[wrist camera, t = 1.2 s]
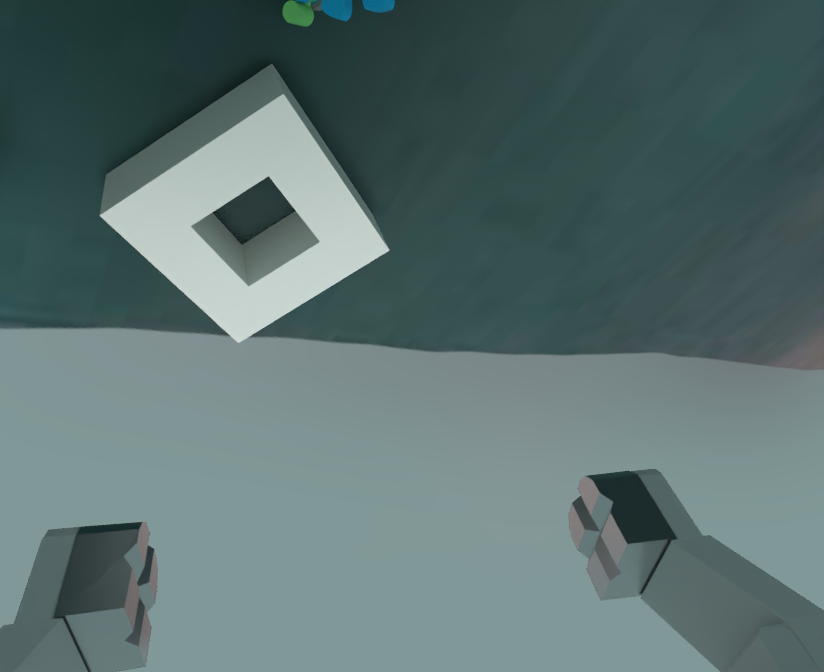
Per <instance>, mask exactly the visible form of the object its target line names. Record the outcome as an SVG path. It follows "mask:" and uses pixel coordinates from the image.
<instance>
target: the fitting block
mask: <svg viewBox="0 0 824 672" xmlns="http://www.w3.org/2000/svg"><path fill="white" fill-rule="evenodd" d="M268 176H269V177H270V178H271V180H272V181H273V182H274V184H275V185H276V186H277V187H278V189H279V190H280V191H281V192H282V194H283V195H284V196H285V198H286V199H287V200H288V201H289V203H290V204H291V205H292V207H293V208H294V209H295V210H296V211H295V212H293V213H291V214H290V215H288V216H287V217H285V218H284V219H282V220H280V221H279V222H277V223H276V224H274V225H273V226H271V227H269V228H268V229H266V230H265V231H263V232H261V233H260V234H258V235H257V236H255V237H254V238H252V239H250V240H249V241H247V242H246V243H244V244H243V245H242V244H241V243H240V242H239V241H238V240H237V239H236V238H235V237H234V236H233V235H232V234H231V232H230V231H229V230H228V229H227V228H226V227H225V226H224V225H223V224H222V223H221V221H220V220H219V219H218V218H217V217H216V216H215V215H214V214H213V213H212V212H214V211H215V210H217V209H218V208H220V207H221V206H223V205H224V204H226V203H228V202H229V201H231V200H232V199H234V198H235V197H237V196H238V195H240V194H241V193H243V192H245V191H246V190H248V189H249V188H251V187H252V186H254V185H255V184H257V183H258V182H260V181H262V180H263V179H265V178H266V177H268ZM100 216H101V217H102V218H103V219H104V220H105V221H106V222H107V223H108V224H109V225H110V226H111V227H112V228H114V229H115V230H116V231H117V232H118V233H119V234H120V235H121V236H122V237H123V238H124V239H126V240H127V241H128V242H129V243H130V244H131V245H132V246H133V247H134V248H135V249H136V250H138V251H139V252H140V253H141V254H142V255H143V256H144V257H145V258H146V259H147V260H148V261H150V262H151V263H152V264H153V265H154V266H155V267H156V268H157V269H158V270H159V271H160V272H162V273H163V274H164V275H165V276H166V277H167V278H168V279H169V280H170V281H171V282H172V283H174V284H175V285H176V286H177V287H178V288H179V289H180V290H181V291H182V292H183V293H184V294H186V295H187V296H188V297H189V298H190V299H191V300H192V301H193V302H194V303H195V304H196V305H197V306H199V307H200V308H201V309H202V310H203V311H204V312H205V313H206V314H207V315H208V316H209V317H211V318H212V319H213V320H214V321H215V322H216V323H217V324H218V325H219V326H220V327H221V328H223V329H224V330H225V331H226V332H227V333H228V334H229V335H230V336H231V337H232V338H233V339H235V340H236V341H237V342H238V343H239V342H241V341H243V340H244V339H246V338H247V337H249V336H251V335H252V334H254V333H256V332H257V331H259V330H260V329H262V328H264V327H265V326H267V325H269V324H270V323H272V322H273V321H275V320H277V319H278V318H280V317H282V316H283V315H285V314H286V313H288V312H290V311H291V310H293V309H295V308H296V307H298V306H299V305H301V304H303V303H304V302H306V301H308V300H309V299H311V298H313V297H314V296H316V295H317V294H319V293H321V292H322V291H324V290H326V289H327V288H329V287H330V286H332V285H334V284H335V283H337V282H339V281H340V280H342V279H343V278H345V277H347V276H348V275H350V274H352V273H353V272H355V271H356V270H358V269H360V268H361V267H363V266H365V265H366V264H368V263H369V262H371V261H373V260H374V259H376V258H378V257H379V256H381V255H382V254H384V253H386V252H387V251H389V248H388V246H387V244H386V242H385V240H384V238H383V236H382V234H381V231H380V229H379V227H378V225H377V223H376V221H375V219H374V217H373V215H372V213H371V211H370V210H369V208H368V207H367V205H366V204H365V202H364V201H363V199H362V198H361V196H360V195H359V193H358V192H357V190H356V189H355V187H354V186H353V184H352V183H351V181H350V180H349V178H348V177H347V175H346V174H345V172H344V171H343V169H342V168H341V166H340V165H339V163H338V162H337V160H336V159H335V157H334V156H333V154H332V153H331V151H330V150H329V148H328V147H327V145H326V144H325V142H324V141H323V139H322V138H321V136H320V135H319V133H318V132H317V130H316V129H315V127H314V126H313V124H312V123H311V121H310V120H309V118H308V117H307V115H306V114H305V112H304V111H303V109H302V108H301V106H300V105H299V103H298V102H297V100H296V99H295V97H294V96H293V94H292V93H291V91H290V90H289V88H288V87H287V85H286V84H285V82H284V81H283V79H282V78H281V76H280V75H279V73H278V72H277V70H276V69H275V67H274V66H273V64H270V65H269V66H267V67H266V68H264V69H263V70H261V71H260V72H258V73H257V74H255V75H254V76H252V77H251V78H249V79H248V80H246V81H245V82H243V83H242V84H241V85H239V86H238V87H236V88H235V89H233V90H232V91H230V92H229V93H227V94H226V95H224V96H223V97H221V98H220V99H218V100H217V101H215V102H214V103H212V104H211V105H209V106H208V107H206V108H205V109H203V110H202V111H200V112H199V113H197V114H196V115H194V116H193V117H191V118H190V119H188V120H187V121H185V122H184V123H182V124H181V125H179V126H178V127H176V128H175V129H173V130H172V131H170V132H169V133H167V134H166V135H164V136H163V137H161V138H160V139H158V140H157V141H155V142H154V143H153V144H151V145H150V146H148V147H147V148H145V149H144V150H142V151H141V152H139V153H138V154H136V155H135V156H133V157H132V158H130V159H129V160H127V161H126V162H124V163H123V164H121V165H120V166H118V167H117V168H115V169H114V170H112V171H111V172H109V173H108V174H106V179H105V185H104V191H103V197H102V203H101V210H100Z"/></svg>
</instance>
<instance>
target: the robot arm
mask: <svg viewBox="0 0 824 672" xmlns="http://www.w3.org/2000/svg"><path fill="white" fill-rule="evenodd" d="M577 489H578V491H579V493H580V495H581V496H580V497H578V498H577V499H576V500H575V501H574V502H573V503H572V505H571V508H570V512H569V529H570V533H571V536H572V539H573V542H574V544H575V546H576V548H577V550H578V551H579V552H581V553H582V554H583V555H585V556H586V557H587V558H589V560H588V565H587V569H586V570H587V572H588V574H589V576H590V579H591V581H592V583H593V585H594V587H595V589H596V592H597V594H598V596H599V598H600V600H608V599H617V598H626V597H635V596H641V599H642V600H643V601H644V602H645V603H646V604H647V605H648V606H649V607H651V608H652V609H653V610H654V611H655V612H656V613H657V614H658V615H659V616H660V617H661V618H662V619H664V620H665V621H666V622H667V623H668V624H669V625H670V626H671V627H672V628H674V630H676V631H677V632H678V633H679V634H680V635H681V636H682V637H683V638H684V639H686V641H688V642H689V643H690V644H691V645H692V646H693V647H694V648H695V649H696V650H697V651H698V652H700V653H701V654H702V655H703V656H704V657H705V658H706V659H707V660H708V661H709V662H710V663H712V664H713V665H714V666H715V667H716V668H717V669H718V670H719V671H720V672H824V610H822V609H821V608H819V607H817V606H816V605H815V604H813V603H812V602H810V601H809V600H807V599H806V598H804V597H802V596H801V595H800V594H798V593H796V592H795V591H793V590H792V589H790V588H789V587H787V586H786V585H784V584H783V583H781V582H780V581H778V580H777V579H775V578H774V577H772V576H771V575H769V574H768V573H766V572H765V571H763V570H762V569H760V568H759V567H757V566H756V565H754V564H752V563H751V562H749V561H748V560H746V559H745V558H743V557H742V556H740V555H739V554H737V553H736V552H734V551H733V550H731V549H730V548H728V547H727V546H725V545H724V544H722V543H721V542H719V541H717V540H716V539H714V538H713V537H712V536H710V535H708V536H703V535H702V534H701V532H700V531H699V529H698V528H697V526H696V525H695V523H694V522H693V520H692V519H691V517H690V516H689V514H688V513H687V511H686V510H685V508H684V507H683V505H682V504H681V502H680V501H679V499H678V498H677V496H676V495H675V493H674V492H673V490H672V489H671V487H670V486H669V484H668V483H667V481H666V480H665V478H664V477H663V475H662V474H661V473H660V472H659V471H658V470H656V469H648V470H638V471H631V472H630V471H623V472H615V473H606V474H598V475H589V476H585V477H583V478H582V479H581V480H580V483H579V485H578V488H577ZM149 535H150V532H149V529H148V527H147V523H146V522H135V523H123V524H110V525H97V526H85V527H73V528H62V529H52V530H48V531H47V533H46V534H45V536H44V537H43V539H42V541H41V543H40V547H39V549H38V552H37V555H36V558H35V561H34V565H33V568H32V571H31V574H30V577H29V579H28V583H27V586H26V588H25V592H24V595H23V598H22V601H21V604H20V607H19V610H18V613H17V616H16V619H15V622H14V624H9V625H3V626H2V627H1V629H0V672H117V671H123V670H129V669H135V668H141V667H146V661H147V655H148V648H149V641H150V635H151V625H150V621H149V618H148V615H147V612H148V611H149V610H150V609H151V607H152V606H153V605H154V604H155V600H156V593H157V578H158V576H157V575H158V567H157V559H156V554H155V551H154V549H153V548H151V547H150V546H148V541H149Z"/></svg>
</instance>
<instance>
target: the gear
mask: <svg viewBox="0 0 824 672" xmlns="http://www.w3.org/2000/svg"><path fill="white" fill-rule="evenodd" d="M296 1H297V2H296ZM394 3H395V0H363V5H364V8H365V9H366V10H370V11H373V12H377V13H381V12H387V11H390V10H393V8H394ZM313 10H315V11H321V10H323V11H324V12H325V13H326V14H327V15H329V16H331V17H333V18H336V19H339V20H343V21H346V22H347V21H348V20H349V18H350V17H351V14H352V0H295V1H292V0H290V1H287V2H286V3H285V5H284V7H283V17H284V19H285V20H286V21H287V22H288V23H291V24H296V25H300V26H305V27H307V26H309V25H310V24H311V23H312V22H313V19H314V12H313Z"/></svg>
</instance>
